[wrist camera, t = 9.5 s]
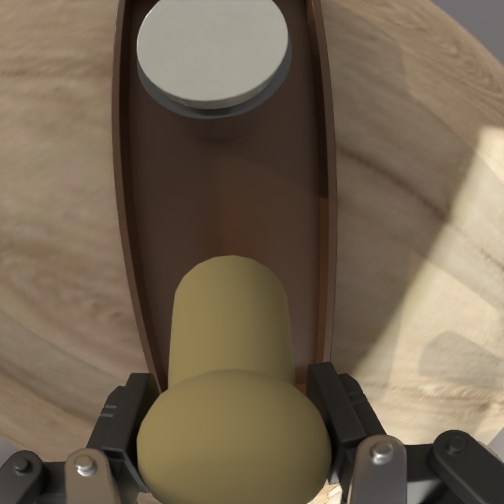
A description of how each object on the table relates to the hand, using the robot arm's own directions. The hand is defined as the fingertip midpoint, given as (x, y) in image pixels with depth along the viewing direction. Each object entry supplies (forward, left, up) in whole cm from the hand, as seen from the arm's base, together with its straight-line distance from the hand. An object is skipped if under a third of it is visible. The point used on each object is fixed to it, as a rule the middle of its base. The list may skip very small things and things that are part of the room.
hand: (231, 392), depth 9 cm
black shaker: (0, +12, -13) cm, 18 cm away
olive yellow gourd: (0, 0, -7) cm, 7 cm away
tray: (0, +5, -13) cm, 14 cm away
